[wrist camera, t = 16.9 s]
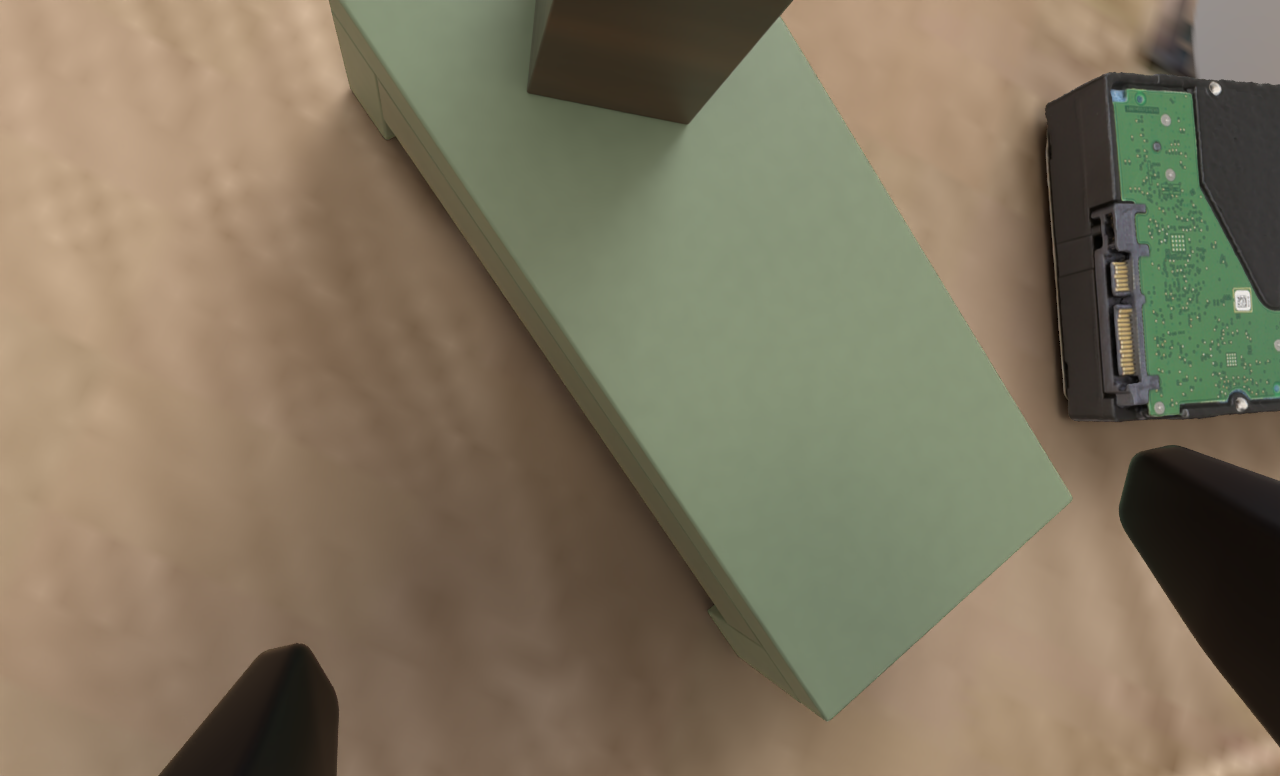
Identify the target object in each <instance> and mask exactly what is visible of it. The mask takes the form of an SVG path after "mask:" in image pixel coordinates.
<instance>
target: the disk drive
mask: <svg viewBox="0 0 1280 776" xmlns="http://www.w3.org/2000/svg"><path fill="white" fill-rule="evenodd" d="M1045 115H1046V118H1047V125H1048V127H1047V136H1046V137H1047V145H1046V163H1047V175H1048V176H1047V182H1048V189H1049V202H1050V218H1051V232H1052V242H1053V258H1054V270H1055V283H1056V293H1057V294H1056V299H1057V310H1058V324H1059V325H1058V329H1059V339H1060V347H1061V363H1062V373H1063V390H1064V395H1065V397H1066V398H1067V399H1068V414H1069V417H1070V418H1071V419H1072V420H1074V421H1096V422H1099V421H1104V422H1122V421H1132V420H1148V419H1194V418H1198V419H1201V418H1208V417H1216V416H1218V415H1227V414H1229V415H1231V414H1244V413H1258V412H1269V411H1280V85H1271V84H1258V83H1253V82H1247V83H1246V82H1235V81H1230V80H1219V81H1217V80H1205V79H1195V78H1193V77H1187V76H1175V75H1166V74H1155V75H1153V76H1147V75H1141V74H1134V73H1122V72H1121V73H1116V72H1113V73H1111V72H1109V73H1106V74H1103V75H1102V76H1100V77H1097V78H1095V79H1093V80H1091V81H1089V82H1087V83H1085V84H1083V85H1081V86H1079V87H1077V88H1076V89H1074V90H1072V91H1070V92H1069V93H1067V94H1064V95H1063V96H1061V97H1060V98H1058V99H1056V100H1054V101H1052V102H1049V103H1048V104H1047V105H1046V108H1045Z"/></svg>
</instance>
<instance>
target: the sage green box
mask: <svg viewBox="0 0 1280 776" xmlns="http://www.w3.org/2000/svg"><path fill="white" fill-rule="evenodd" d="M329 3H330V7H331V12H332V16H333V20H334V24H335V28H336V32H337V36H338V41H339V45H340V49H341V53H342V57H343V61H344V65H345V69H346V73H347V77H348V81H349V85H350V89H351V90H352V92H353V93H354V95H355V96H356V98H357V99H358V101H359V102H360V103H361V105H362V106H363V108H364V109H365V111H366V112H367V114H368V115H369V117H370V118H371V120H372V121H373V122H374V124H375V125H376V127H377V128H378V130H379V131H380V133H381V134H382V136H383V137H384V138H385V139H386V140H389V139H391V138H392V137H394V136H396V137H397V139H398V140H399V142H400V143H401V145H402V146H403V148H404V149H405V151H406V152H407V154H408V155H409V157H410V158H411V159H412V161H413V162H414V164H415V165H416V167H417V168H418V170H419V171H420V173H421V174H422V176H423V177H424V179H425V180H426V182H427V183H428V184H429V186H430V187H431V189H432V190H433V192H434V193H435V195H436V196H437V198H438V199H439V201H440V202H441V204H442V205H443V206H444V208H445V209H446V211H447V212H448V214H449V215H450V217H451V218H452V220H453V221H454V223H455V224H456V226H457V227H458V229H459V230H460V231H461V233H462V234H463V236H464V237H465V239H466V240H467V242H468V243H469V245H470V246H471V248H472V249H473V251H474V252H475V253H476V255H477V256H478V258H479V259H480V261H481V262H482V264H483V265H484V267H485V268H486V270H487V271H488V273H489V274H490V276H491V277H492V278H493V280H494V281H495V283H496V284H497V286H498V287H499V289H500V290H501V292H502V293H503V295H504V296H505V298H506V299H507V300H508V302H509V303H510V305H511V306H512V308H513V309H514V311H515V312H516V314H517V315H518V317H519V318H520V320H521V321H522V323H523V324H524V325H525V327H526V328H527V330H528V331H529V333H530V334H531V336H532V337H533V339H534V340H535V342H536V343H537V345H538V346H539V347H540V349H541V350H542V352H543V353H544V355H545V356H546V358H547V359H548V361H549V362H550V364H551V365H552V367H553V368H554V370H555V371H556V372H557V374H558V375H559V377H560V378H561V380H562V381H563V383H564V384H565V386H566V387H567V389H568V390H569V392H570V393H571V394H572V396H573V397H574V399H575V400H576V402H577V403H578V405H579V406H580V408H581V409H582V411H583V412H584V414H585V415H586V417H587V418H588V419H589V421H590V422H591V424H592V425H593V427H594V428H595V430H596V431H597V433H598V434H599V436H600V437H601V439H602V440H603V441H604V443H605V444H606V446H607V447H608V449H609V450H610V452H611V453H612V455H613V456H614V458H615V459H616V461H617V462H618V464H619V465H620V466H621V468H622V469H623V471H624V472H625V474H626V475H627V477H628V478H629V480H630V481H631V483H632V484H633V486H634V487H635V488H636V490H637V491H638V493H639V494H640V496H641V497H642V499H643V500H644V502H645V503H646V505H647V506H648V508H649V509H650V511H651V512H652V513H653V515H654V516H655V518H656V519H657V521H658V522H659V524H660V525H661V527H662V528H663V530H664V531H665V533H666V534H667V535H668V537H669V538H670V540H671V541H672V543H673V544H674V546H675V547H676V549H677V550H678V552H679V553H680V555H681V556H682V558H683V559H684V560H685V562H686V563H687V565H688V566H689V568H690V569H691V571H692V572H693V574H694V575H695V577H696V578H697V580H698V581H699V582H700V584H701V585H702V587H703V588H704V590H705V591H706V593H707V594H708V596H709V597H710V599H711V600H712V602H713V603H714V605H713V606H712V607H711V608H710V609H709V610H708V613H709V615H710V616H711V618H712V619H713V621H714V622H715V624H716V625H717V626H718V628H719V629H720V631H721V632H722V634H723V635H724V637H725V638H726V640H727V641H728V643H729V644H730V645H731V647H732V648H733V650H734V651H735V653H736V654H737V656H738V657H740V658H741V659H742V660H744V661H745V662H746V663H748V664H749V665H750V666H752V667H753V668H754V669H756V670H757V671H758V672H760V673H761V674H762V675H764V676H765V677H766V678H768V679H769V680H770V681H772V682H773V683H774V684H776V685H777V686H778V687H780V688H781V689H782V690H784V691H785V692H786V693H788V694H789V695H790V696H792V697H793V698H794V699H796V700H797V701H798V702H800V703H802V704H803V705H805V706H806V707H807V708H809V709H810V710H811V711H813V712H814V713H815V714H817V715H818V716H819V717H821V718H822V719H823V720H825V721H830V720H831V719H832V718H833V717H834V716H836V715H837V714H838V713H839V712H840V711H841V710H842V709H843V708H844V707H845V706H847V705H848V704H849V703H850V702H851V701H852V700H853V699H854V698H855V697H856V696H858V695H859V694H860V693H861V692H862V691H863V690H864V689H865V688H866V687H868V686H869V685H870V684H871V683H872V682H873V681H874V680H875V679H876V678H877V677H879V676H880V675H881V674H882V673H883V672H884V671H885V670H886V669H887V668H888V667H890V666H891V665H892V664H893V663H894V662H895V661H896V660H897V659H898V658H899V657H901V656H902V655H903V654H904V653H905V652H906V651H907V650H908V649H909V648H910V647H912V646H913V645H914V644H915V643H916V642H917V641H918V640H919V639H920V638H921V637H923V636H924V635H925V634H926V633H927V632H928V631H929V630H930V629H931V628H932V627H934V626H935V625H936V624H937V623H938V622H939V621H940V620H941V619H942V618H943V617H945V616H946V615H947V614H948V613H949V612H950V611H951V610H952V609H953V608H954V607H956V606H957V605H958V604H959V603H960V602H961V601H962V600H963V599H964V598H965V597H967V596H968V595H969V594H970V593H971V592H972V591H973V590H974V589H975V588H976V587H978V586H979V585H980V584H981V583H982V582H983V581H984V580H985V579H986V578H988V577H989V576H990V575H991V574H992V573H993V572H994V571H995V570H996V569H997V568H999V567H1000V566H1001V565H1002V564H1003V563H1004V562H1005V561H1006V560H1007V559H1008V558H1010V557H1011V556H1012V555H1013V554H1014V553H1015V552H1016V551H1017V550H1018V549H1019V548H1021V547H1022V546H1023V545H1024V544H1025V543H1026V542H1027V541H1028V540H1029V539H1030V538H1032V537H1033V536H1034V535H1035V534H1036V533H1037V532H1038V531H1039V530H1040V529H1041V528H1043V527H1044V526H1045V525H1046V524H1047V523H1048V522H1049V521H1050V520H1051V519H1052V518H1054V517H1055V516H1056V515H1057V514H1058V513H1059V512H1060V511H1061V510H1062V509H1063V508H1065V507H1066V506H1067V505H1068V504H1069V503H1070V502H1071V501H1072V499H1073V498H1072V496H1071V494H1070V492H1069V491H1068V489H1067V487H1066V486H1065V484H1064V483H1063V481H1062V479H1061V478H1060V476H1059V474H1058V473H1057V471H1056V469H1055V468H1054V466H1053V464H1052V463H1051V461H1050V459H1049V458H1048V456H1047V455H1046V453H1045V451H1044V450H1043V448H1042V446H1041V445H1040V443H1039V441H1038V440H1037V438H1036V436H1035V435H1034V433H1033V431H1032V430H1031V428H1030V427H1029V425H1028V423H1027V422H1026V420H1025V418H1024V417H1023V415H1022V413H1021V412H1020V410H1019V408H1018V407H1017V405H1016V403H1015V402H1014V400H1013V399H1012V397H1011V395H1010V394H1009V392H1008V390H1007V389H1006V387H1005V385H1004V384H1003V382H1002V380H1001V379H1000V377H999V375H998V374H997V372H996V371H995V369H994V367H993V366H992V364H991V362H990V361H989V359H988V357H987V356H986V354H985V352H984V351H983V349H982V347H981V346H980V344H979V343H978V341H977V339H976V338H975V336H974V334H973V333H972V331H971V329H970V328H969V326H968V324H967V323H966V321H965V320H964V318H963V316H962V315H961V313H960V311H959V310H958V308H957V306H956V305H955V303H954V301H953V300H952V298H951V296H950V295H949V293H948V292H947V290H946V288H945V287H944V285H943V283H942V282H941V280H940V278H939V277H938V275H937V273H936V272H935V270H934V268H933V267H932V265H931V264H930V262H929V260H928V259H927V257H926V255H925V254H924V252H923V250H922V249H921V247H920V245H919V244H918V242H917V240H916V239H915V237H914V236H913V234H912V232H911V231H910V229H909V227H908V226H907V224H906V222H905V221H904V219H903V217H902V216H901V214H900V212H899V211H898V209H897V208H896V206H895V204H894V203H893V201H892V199H891V198H890V196H889V194H888V193H887V191H886V189H885V188H884V186H883V184H882V183H881V181H880V180H879V178H878V176H877V175H876V173H875V171H874V170H873V168H872V166H871V165H870V163H869V161H868V160H867V158H866V156H865V155H864V153H863V152H862V150H861V148H860V147H859V145H858V143H857V142H856V140H855V138H854V137H853V135H852V133H851V132H850V130H849V128H848V127H847V125H846V124H845V122H844V120H843V119H842V117H841V115H840V114H839V112H838V110H837V109H836V107H835V105H834V104H833V102H832V101H831V99H830V97H829V96H828V94H827V92H826V91H825V89H824V87H823V86H822V84H821V82H820V81H819V79H818V77H817V76H816V74H815V73H814V71H813V69H812V68H811V66H810V64H809V63H808V61H807V59H806V58H805V56H804V54H803V53H802V51H801V49H800V48H799V46H798V45H797V43H796V41H795V40H794V38H793V36H792V35H791V33H790V31H789V30H788V28H787V26H786V25H785V23H784V21H783V20H782V18H781V17H779V18H778V19H777V20H776V21H775V22H774V24H773V25H772V26H771V27H770V28H769V30H768V31H767V32H766V33H765V34H764V35H763V37H762V38H761V39H760V40H759V41H758V43H757V44H756V45H755V46H754V47H753V49H752V50H751V51H750V52H749V53H748V54H747V56H746V57H745V58H744V59H743V60H742V62H741V63H740V64H739V65H738V66H737V67H736V69H735V70H734V71H733V72H732V73H731V75H730V76H729V77H728V78H727V79H726V81H725V82H724V83H723V84H722V85H721V86H720V88H719V89H718V90H717V91H716V92H715V94H714V95H713V96H712V97H711V98H710V100H709V101H708V102H707V103H706V104H705V105H704V107H703V108H702V109H701V110H700V111H699V113H698V114H697V115H696V116H695V117H694V118H693V120H692V121H691V122H690V123H689V124H687V125H686V124H681V123H676V122H671V121H666V120H661V119H656V118H651V117H646V116H641V115H636V114H631V113H626V112H621V111H616V110H611V109H606V108H600V107H595V106H590V105H585V104H580V103H575V102H570V101H565V100H560V99H555V98H550V97H545V96H540V95H535V94H530V93H528V92H527V84H528V74H529V64H530V54H531V43H532V33H533V23H534V13H535V3H536V0H329Z"/></svg>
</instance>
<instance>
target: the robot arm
mask: <svg viewBox="0 0 1280 776" xmlns="http://www.w3.org/2000/svg"><path fill="white" fill-rule="evenodd" d="M1119 516H1120V521H1121V523H1122V526H1123V528H1124V530H1125V532H1126V534H1127V535H1128V537H1129V538H1130V540H1131V541H1132V543H1133V544H1134V546H1135V547H1136V549H1137V550H1138V552H1139V553H1140V555H1141V557H1142V558H1143V560H1144V561H1145V563H1146V564H1147V566H1148V567H1149V569H1150V570H1151V572H1152V573H1153V575H1154V577H1155V578H1156V580H1157V581H1158V583H1159V584H1160V586H1161V587H1162V589H1163V590H1164V592H1165V593H1166V595H1167V597H1168V598H1169V600H1170V601H1171V603H1172V604H1173V606H1174V607H1175V609H1176V610H1177V612H1178V613H1179V615H1180V617H1181V618H1182V620H1183V621H1184V623H1185V624H1186V626H1187V627H1188V629H1189V630H1190V632H1191V633H1192V635H1193V636H1194V638H1195V639H1196V640H1197V642H1198V643H1199V645H1200V646H1201V648H1202V649H1203V650H1204V652H1205V653H1206V655H1207V656H1208V657H1209V658H1210V660H1211V661H1212V662H1213V664H1214V665H1215V666H1216V668H1217V669H1218V670H1219V672H1220V673H1221V674H1222V675H1223V677H1224V678H1225V679H1226V680H1227V682H1228V683H1229V684H1230V685H1231V687H1232V688H1233V689H1234V690H1235V692H1236V693H1237V694H1238V695H1239V697H1240V698H1241V699H1242V700H1243V702H1244V703H1245V704H1246V705H1247V707H1248V708H1249V709H1250V710H1251V712H1252V713H1253V714H1254V716H1255V717H1256V718H1257V719H1258V721H1259V722H1260V723H1261V724H1262V726H1263V727H1264V728H1265V729H1266V731H1267V732H1268V733H1269V734H1270V736H1271V737H1272V738H1273V739H1274V741H1275V742H1276V743H1277V744H1278V746H1279V747H1280V481H1278V480H1275V479H1272V478H1269V477H1266V476H1264V475H1261V474H1258V473H1255V472H1252V471H1249V470H1247V469H1244V468H1241V467H1238V466H1235V465H1233V464H1230V463H1227V462H1224V461H1221V460H1218V459H1216V458H1213V457H1210V456H1207V455H1204V454H1202V453H1199V452H1196V451H1193V450H1190V449H1187V448H1185V447H1181V446H1176V445H1168V446H1163V447H1159V448H1155V449H1150V450H1146V451H1141V452H1139V453H1137V454H1136V455H1135V456H1134V457H1133V458H1132V460H1131V462H1130V465H1129V469H1128V473H1127V477H1126V481H1125V485H1124V489H1123V492H1122V496H1121V500H1120V504H1119ZM338 724H339V706H338V699H337V695H336V692H335V690H334V688H333V686H332V684H331V683H330V681H329V679H328V678H327V676H326V674H325V673H324V671H323V669H322V668H321V666H320V664H319V663H318V661H317V659H316V658H315V656H314V654H313V653H312V651H311V650H310V648H309V647H308V646H306V645H305V644H302V643H300V644H299V643H296V644H292V645H288V646H283V647H279V648H274V649H270V650H267V651H265V652H263V653H262V654H260V655H259V656H258V657H257V658H256V659H255V660H254V661H253V663H252V664H251V665H250V666H249V667H248V669H247V670H246V671H245V672H244V673H243V675H242V676H241V677H240V678H239V679H238V681H237V682H236V683H235V684H234V685H233V687H232V688H231V689H230V690H229V691H228V693H227V694H226V695H225V696H224V697H223V699H222V700H221V701H220V702H219V703H218V705H217V706H216V707H215V708H214V709H213V711H212V712H211V713H210V714H209V715H208V717H207V718H206V719H205V720H204V721H203V723H202V724H201V725H200V726H199V727H198V729H197V730H196V731H195V732H194V733H193V735H192V736H191V737H190V738H189V739H188V741H187V742H186V743H185V744H184V745H183V747H182V748H181V749H180V750H179V751H178V753H177V754H176V755H175V756H174V757H173V759H172V760H171V761H170V762H169V764H168V765H167V766H166V767H165V768H164V770H163V771H162V772H161V773H160V774H159V776H336V775H337V750H338Z"/></svg>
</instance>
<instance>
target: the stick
mask: <svg viewBox="0 0 1280 776" xmlns="http://www.w3.org/2000/svg"><path fill="white" fill-rule="evenodd" d="M792 1H793V0H536V3H535V13H534V23H533V33H532V43H531V54H530V64H529V74H528V84H527V92H528V93H530V94H535V95H540V96H545V97H550V98H555V99H560V100H565V101H570V102H575V103H580V104H585V105H590V106H595V107H600V108H606V109H611V110H616V111H621V112H626V113H631V114H636V115H641V116H646V117H651V118H656V119H661V120H666V121H671V122H676V123H681V124H686V125H687V124H689V123H690V122H691V121H692V120H693V118H694V117H695V116H696V115H697V114H698V113H699V111H700V110H701V109H702V108H703V107H704V105H705V104H706V103H707V102H708V101H709V100H710V98H711V97H712V96H713V95H714V94H715V92H716V91H717V90H718V89H719V88H720V86H721V85H722V84H723V83H724V82H725V81H726V79H727V78H728V77H729V76H730V75H731V73H732V72H733V71H734V70H735V69H736V67H737V66H738V65H739V64H740V63H741V62H742V60H743V59H744V58H745V57H746V56H747V54H748V53H749V52H750V51H751V50H752V49H753V47H754V46H755V45H756V44H757V43H758V41H759V40H760V39H761V38H762V37H763V35H764V34H765V33H766V32H767V31H768V30H769V28H770V27H771V26H772V25H773V24H774V22H775V21H776V20H777V19H778V18H779V17H780V15H781V14H782V13H783V12H784V11H785V9H786V8H787V7H788V6H789V5H790V3H791V2H792Z"/></svg>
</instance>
